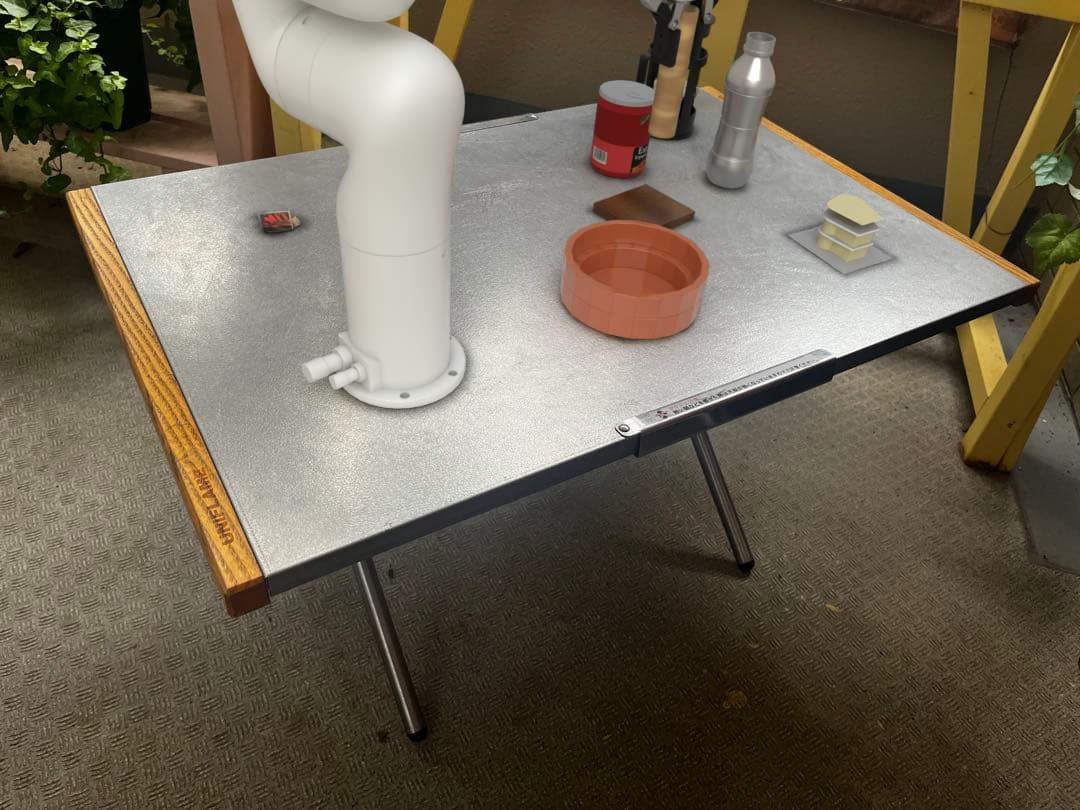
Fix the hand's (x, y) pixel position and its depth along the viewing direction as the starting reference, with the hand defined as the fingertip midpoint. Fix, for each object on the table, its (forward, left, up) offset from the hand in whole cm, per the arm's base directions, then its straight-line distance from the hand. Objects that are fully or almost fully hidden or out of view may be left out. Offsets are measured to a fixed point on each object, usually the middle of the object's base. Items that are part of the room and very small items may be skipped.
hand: (674, 58), depth 90 cm
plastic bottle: (+19, +2, -21) cm, 28 cm away
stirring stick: (0, 0, -9) cm, 9 cm away
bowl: (-14, -11, -21) cm, 28 cm away
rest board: (+2, +2, -21) cm, 21 cm away
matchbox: (-38, +25, -21) cm, 50 cm away
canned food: (+9, +14, -21) cm, 27 cm away
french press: (+25, +20, -21) cm, 38 cm away
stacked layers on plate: (+18, -18, -21) cm, 33 cm away
